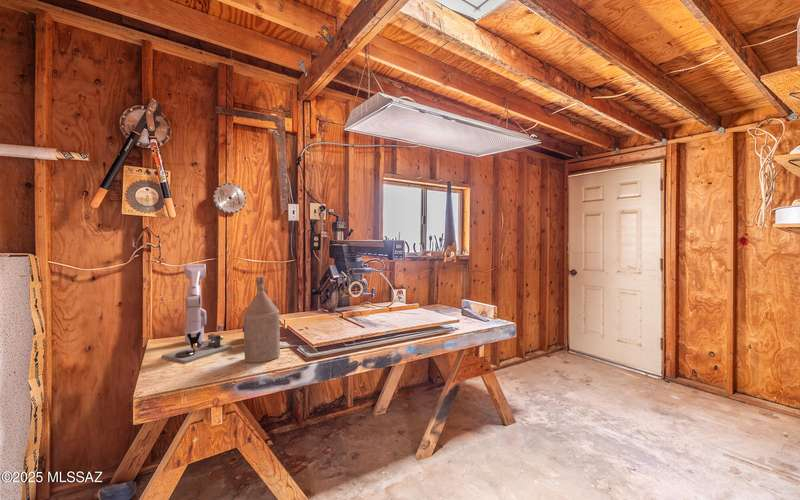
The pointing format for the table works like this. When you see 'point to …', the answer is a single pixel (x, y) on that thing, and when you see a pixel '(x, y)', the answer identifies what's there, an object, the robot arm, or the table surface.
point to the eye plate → (216, 341)
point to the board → (196, 353)
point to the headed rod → (207, 342)
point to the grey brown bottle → (261, 327)
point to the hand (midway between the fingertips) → (194, 347)
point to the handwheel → (187, 352)
